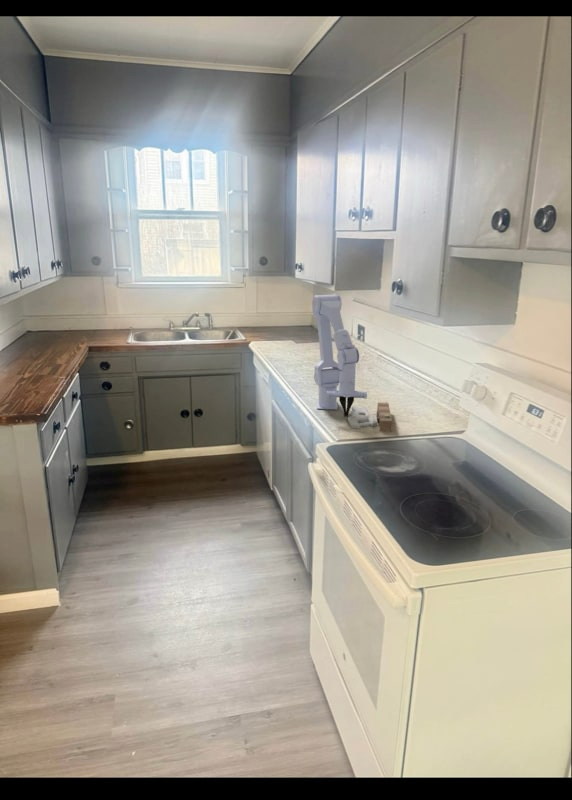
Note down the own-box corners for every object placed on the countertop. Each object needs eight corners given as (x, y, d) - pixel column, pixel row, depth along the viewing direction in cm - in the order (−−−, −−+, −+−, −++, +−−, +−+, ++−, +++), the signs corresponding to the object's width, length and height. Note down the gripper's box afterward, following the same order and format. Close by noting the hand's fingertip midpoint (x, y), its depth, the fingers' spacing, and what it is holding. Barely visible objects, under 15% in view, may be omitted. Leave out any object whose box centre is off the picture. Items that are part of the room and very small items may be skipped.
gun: (342, 404, 201) (367, 403, 202) (341, 412, 203) (367, 411, 204) (353, 423, 185) (380, 422, 186) (352, 432, 186) (380, 431, 187)
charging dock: (375, 412, 203) (376, 401, 201) (387, 412, 202) (388, 401, 201) (378, 431, 184) (378, 419, 182) (391, 431, 183) (392, 419, 182)
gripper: (326, 383, 187) (326, 419, 191) (367, 384, 185) (366, 420, 189) (327, 377, 194) (326, 412, 198) (367, 379, 192) (365, 413, 196)
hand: (346, 416), depth 194 cm, fingers closed
